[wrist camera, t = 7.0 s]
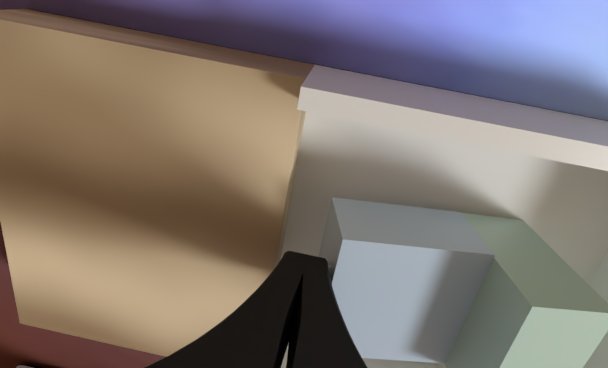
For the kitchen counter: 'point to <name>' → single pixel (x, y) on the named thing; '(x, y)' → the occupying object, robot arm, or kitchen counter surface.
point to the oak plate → (140, 177)
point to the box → (451, 167)
